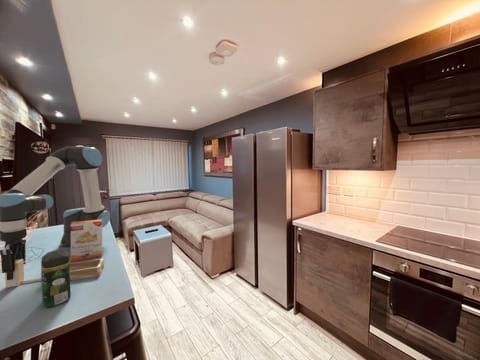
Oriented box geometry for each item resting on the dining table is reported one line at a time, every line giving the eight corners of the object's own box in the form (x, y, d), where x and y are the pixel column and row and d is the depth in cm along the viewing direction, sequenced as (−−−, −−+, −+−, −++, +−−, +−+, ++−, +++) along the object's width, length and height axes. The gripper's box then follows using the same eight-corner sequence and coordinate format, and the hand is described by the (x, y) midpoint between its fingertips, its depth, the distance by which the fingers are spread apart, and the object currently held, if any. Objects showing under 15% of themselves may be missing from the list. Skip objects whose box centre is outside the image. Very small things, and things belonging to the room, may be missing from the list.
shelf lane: (66, 271, 97) (66, 263, 97) (104, 265, 103) (103, 258, 103) (58, 282, 87) (58, 273, 87) (99, 275, 94) (99, 267, 94)
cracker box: (70, 262, 106) (69, 224, 105) (72, 258, 111) (71, 221, 110) (102, 256, 114) (102, 220, 113) (102, 253, 119) (102, 218, 118)
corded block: (12, 281, 87) (12, 259, 87) (66, 273, 95) (66, 252, 95) (4, 289, 82) (3, 265, 81) (61, 279, 90) (61, 257, 89)
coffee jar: (41, 299, 76) (39, 252, 75) (68, 290, 82) (67, 246, 81) (43, 311, 70) (42, 260, 69) (72, 301, 76) (71, 253, 75)
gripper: (13, 225, 90) (14, 275, 91) (-14, 237, 75) (-12, 297, 76) (35, 223, 93) (36, 272, 94) (13, 234, 78) (15, 292, 79)
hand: (15, 283), depth 85 cm, fingers closed on corded block, 4 cm apart
